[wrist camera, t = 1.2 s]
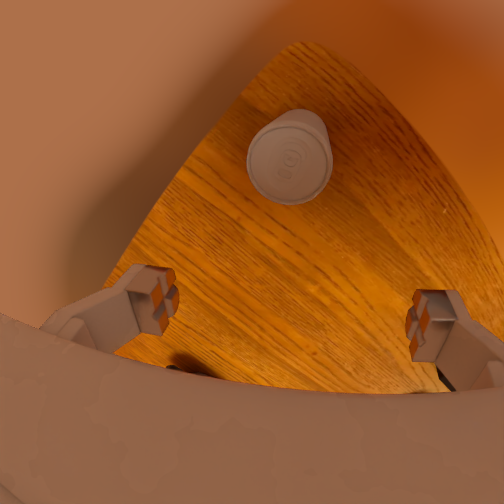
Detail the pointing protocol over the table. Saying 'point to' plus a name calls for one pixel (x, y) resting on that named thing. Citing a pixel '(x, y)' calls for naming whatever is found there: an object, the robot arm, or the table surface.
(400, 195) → the table surface
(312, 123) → the beverage can
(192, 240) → the table surface
